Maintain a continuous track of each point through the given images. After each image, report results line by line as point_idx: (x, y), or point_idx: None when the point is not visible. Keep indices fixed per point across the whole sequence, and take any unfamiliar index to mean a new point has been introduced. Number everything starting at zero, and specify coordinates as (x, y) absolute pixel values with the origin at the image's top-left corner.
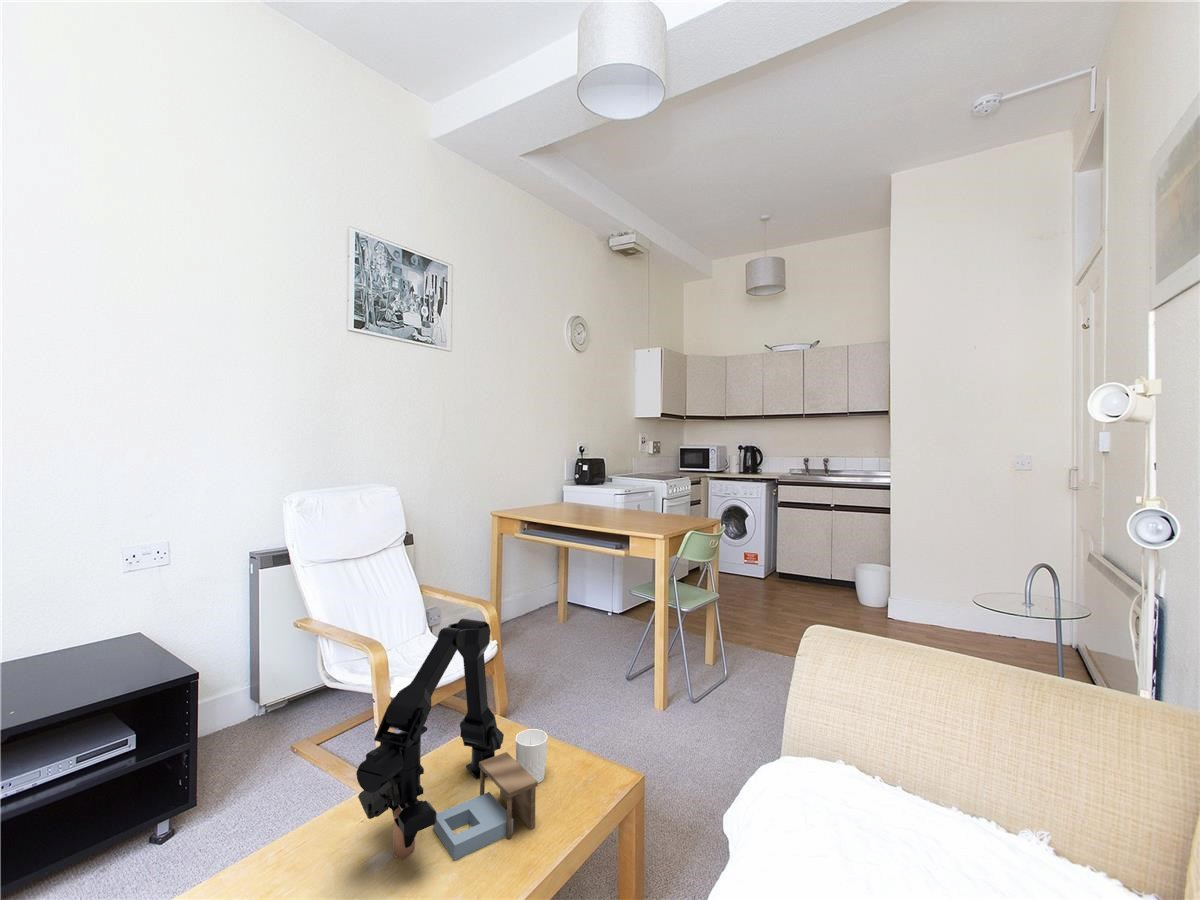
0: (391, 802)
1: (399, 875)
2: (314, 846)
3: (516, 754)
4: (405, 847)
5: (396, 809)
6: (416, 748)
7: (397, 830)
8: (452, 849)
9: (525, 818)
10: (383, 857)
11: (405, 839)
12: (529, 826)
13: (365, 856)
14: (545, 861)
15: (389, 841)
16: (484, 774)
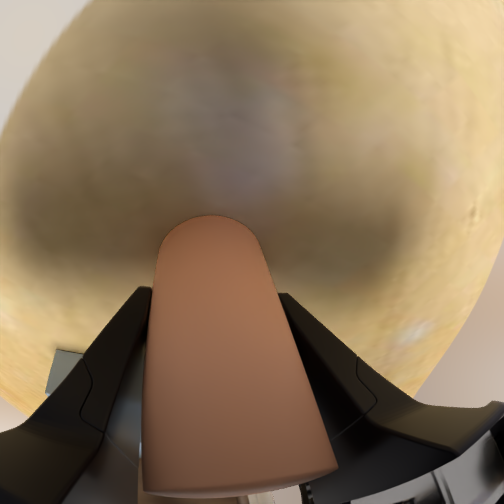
0: (413, 478)
1: (58, 185)
2: (494, 51)
3: (254, 494)
4: (139, 287)
5: (325, 471)
6: None
7: (181, 351)
8: (66, 374)
9: None
10: (242, 166)
11: (102, 333)
12: None
13: (329, 102)
14: (22, 408)
15: (324, 237)
16: (236, 497)
